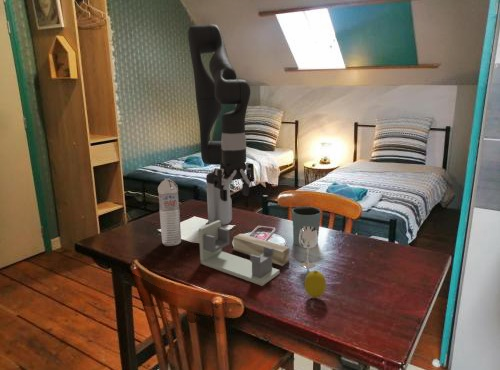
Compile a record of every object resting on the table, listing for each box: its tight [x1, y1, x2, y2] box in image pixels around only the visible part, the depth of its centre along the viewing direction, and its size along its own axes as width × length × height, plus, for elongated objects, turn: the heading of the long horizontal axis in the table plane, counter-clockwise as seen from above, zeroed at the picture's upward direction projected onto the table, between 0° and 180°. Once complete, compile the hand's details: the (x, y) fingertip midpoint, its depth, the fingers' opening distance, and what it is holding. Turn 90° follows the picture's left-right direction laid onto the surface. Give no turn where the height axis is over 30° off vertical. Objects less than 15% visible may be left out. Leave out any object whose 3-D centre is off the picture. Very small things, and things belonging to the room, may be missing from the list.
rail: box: [232, 233, 290, 266], centre depth 130 cm, size 4×20×5 cm, turn 52°
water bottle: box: [157, 174, 182, 247], centre depth 138 cm, size 7×7×25 cm
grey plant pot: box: [291, 205, 322, 248], centre depth 139 cm, size 10×10×12 cm
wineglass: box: [299, 226, 319, 269], centre depth 122 cm, size 6×6×12 cm
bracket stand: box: [198, 220, 280, 287], centre depth 120 cm, size 9×24×12 cm, turn 53°
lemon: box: [304, 270, 327, 299], centre depth 104 cm, size 6×6×8 cm
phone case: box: [248, 225, 276, 241], centre depth 147 cm, size 7×1×15 cm
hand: (235, 198), depth 125 cm, fingers open, 8 cm apart
